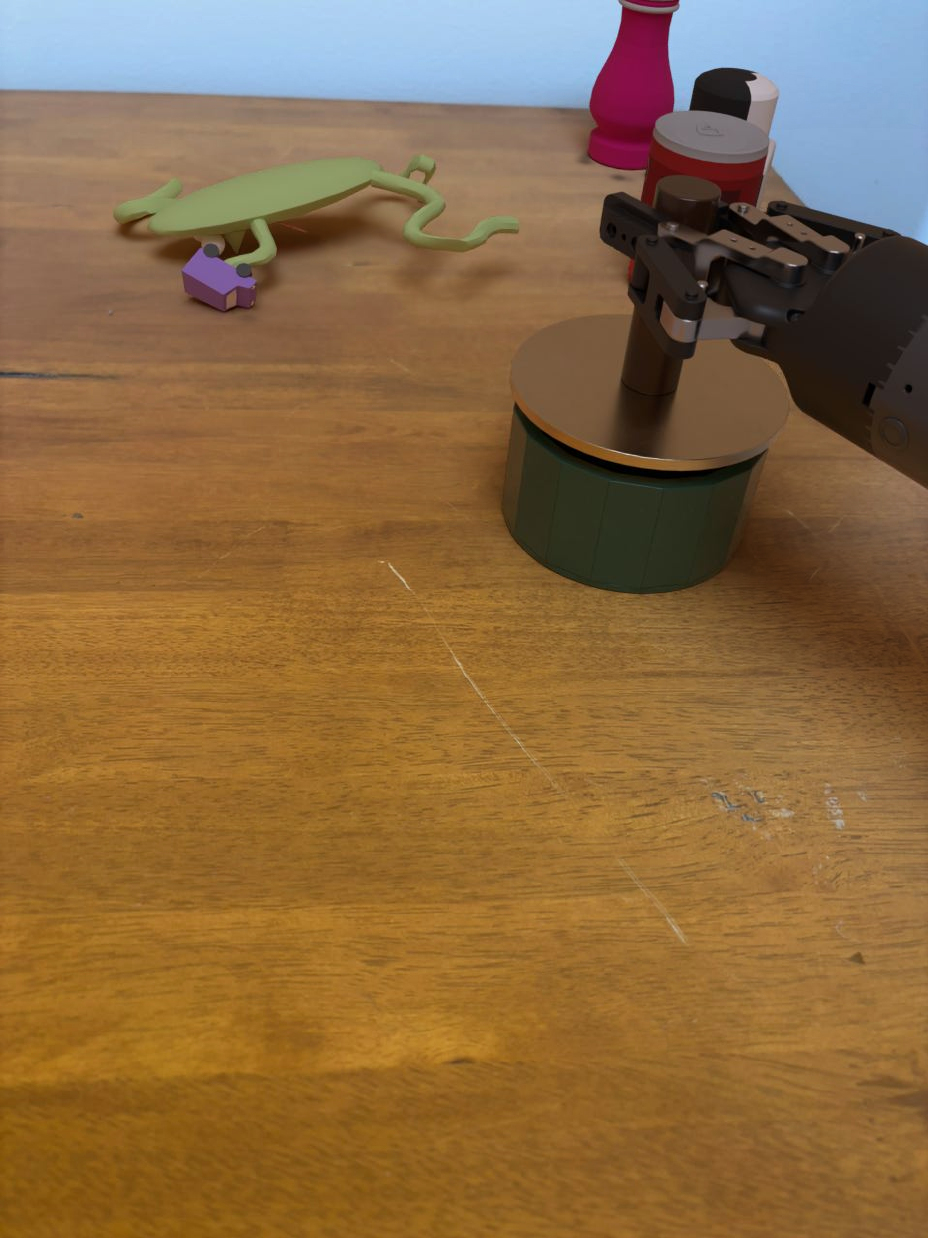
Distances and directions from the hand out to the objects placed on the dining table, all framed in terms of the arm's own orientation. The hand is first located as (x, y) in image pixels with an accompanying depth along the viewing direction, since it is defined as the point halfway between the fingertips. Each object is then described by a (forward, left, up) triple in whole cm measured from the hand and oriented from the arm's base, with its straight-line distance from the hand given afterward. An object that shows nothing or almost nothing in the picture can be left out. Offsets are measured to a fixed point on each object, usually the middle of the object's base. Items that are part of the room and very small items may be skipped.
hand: (635, 207), depth 52 cm
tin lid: (-1, +3, -8) cm, 9 cm away
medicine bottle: (-19, -31, -16) cm, 40 cm away
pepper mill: (-18, -48, -16) cm, 54 cm away
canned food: (-14, -23, -16) cm, 32 cm away
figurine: (+11, -30, -16) cm, 36 cm away
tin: (-1, +3, -16) cm, 16 cm away
